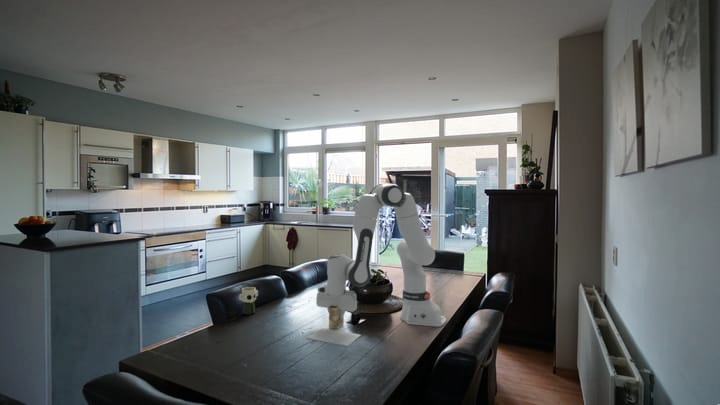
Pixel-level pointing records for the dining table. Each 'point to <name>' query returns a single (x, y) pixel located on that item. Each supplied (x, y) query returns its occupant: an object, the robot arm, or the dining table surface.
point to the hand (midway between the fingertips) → (336, 318)
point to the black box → (355, 318)
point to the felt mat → (334, 336)
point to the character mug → (248, 299)
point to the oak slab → (335, 318)
